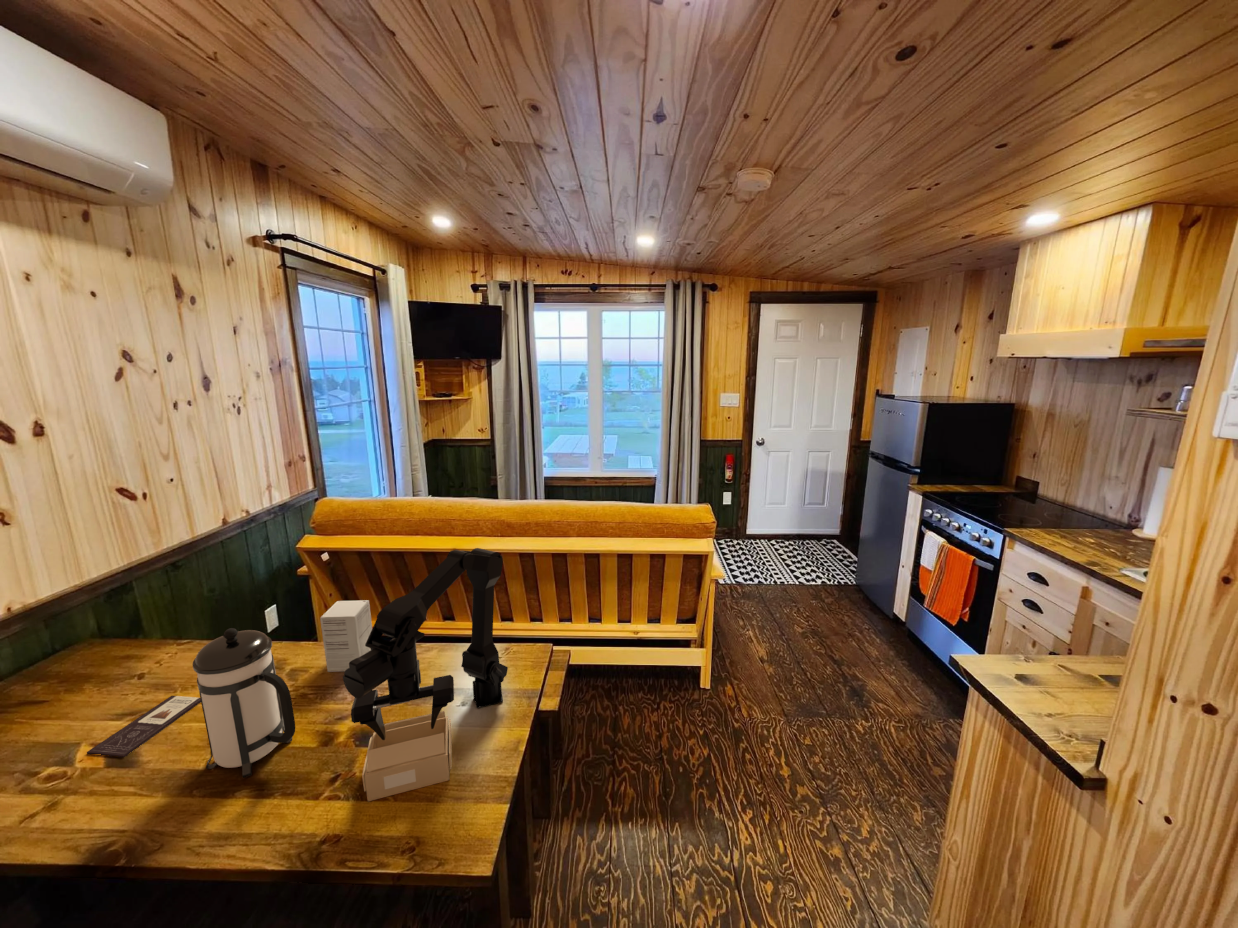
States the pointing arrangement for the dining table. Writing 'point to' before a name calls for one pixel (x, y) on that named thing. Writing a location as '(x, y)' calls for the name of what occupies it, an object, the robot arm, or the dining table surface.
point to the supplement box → (345, 633)
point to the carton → (412, 771)
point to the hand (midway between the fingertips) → (408, 732)
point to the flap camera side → (405, 751)
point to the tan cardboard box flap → (411, 721)
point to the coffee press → (242, 699)
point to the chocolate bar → (145, 726)
